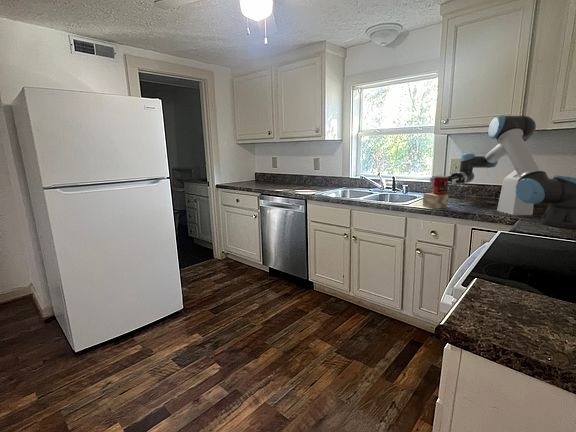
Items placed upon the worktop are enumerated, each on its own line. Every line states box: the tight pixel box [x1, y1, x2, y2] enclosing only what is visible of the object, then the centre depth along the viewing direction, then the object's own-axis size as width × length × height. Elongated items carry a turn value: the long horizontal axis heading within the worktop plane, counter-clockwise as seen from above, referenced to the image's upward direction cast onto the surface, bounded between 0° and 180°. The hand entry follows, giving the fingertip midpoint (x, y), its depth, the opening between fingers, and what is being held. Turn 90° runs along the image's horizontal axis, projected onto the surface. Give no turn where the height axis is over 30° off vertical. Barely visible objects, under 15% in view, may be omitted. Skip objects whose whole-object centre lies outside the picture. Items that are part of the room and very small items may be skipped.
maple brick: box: [422, 192, 450, 209], centre depth 195 cm, size 10×10×8 cm
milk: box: [496, 168, 535, 216], centre depth 175 cm, size 12×12×26 cm
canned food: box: [432, 175, 449, 195], centre depth 194 cm, size 8×8×11 cm
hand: (441, 180), depth 192 cm, fingers open, 13 cm apart
